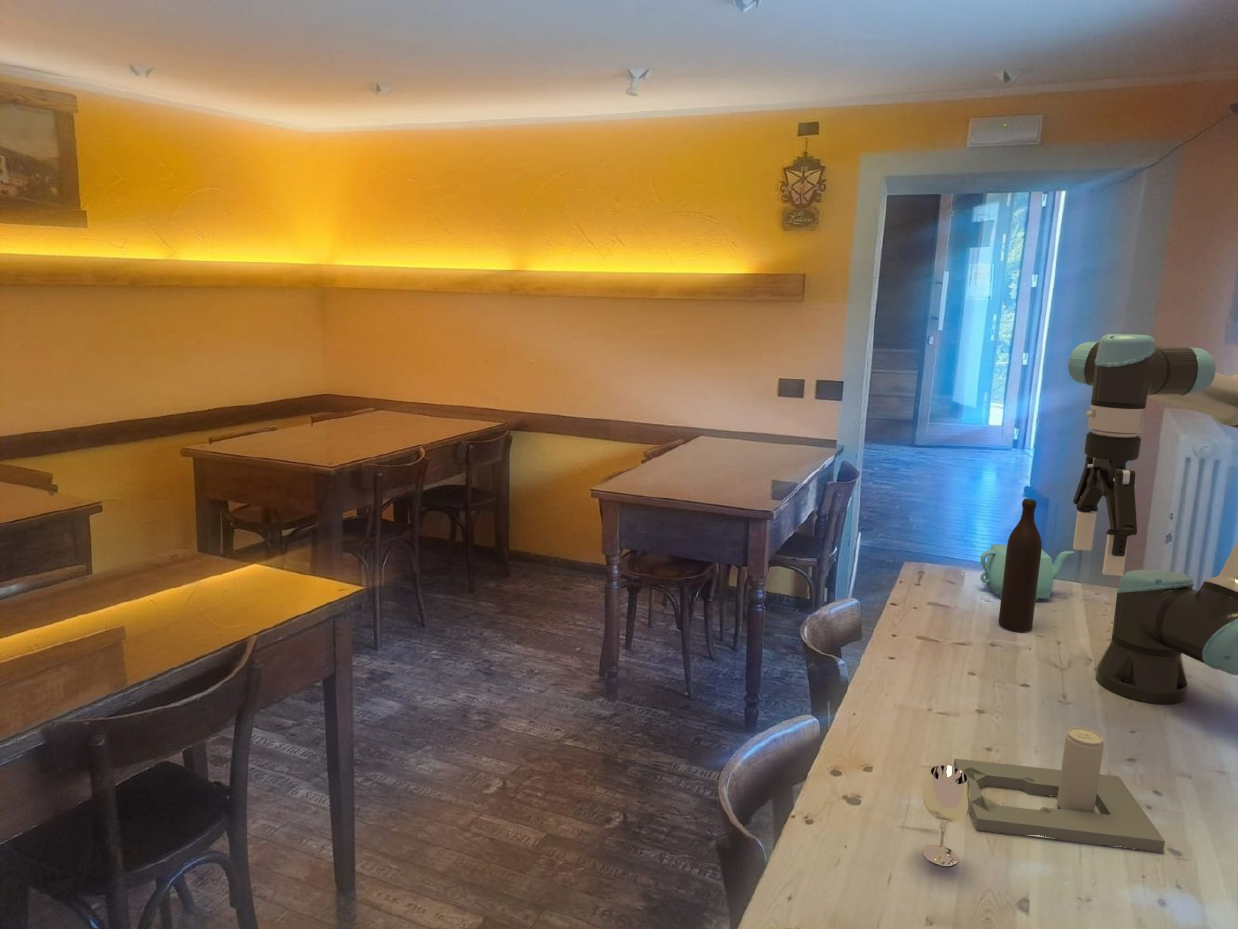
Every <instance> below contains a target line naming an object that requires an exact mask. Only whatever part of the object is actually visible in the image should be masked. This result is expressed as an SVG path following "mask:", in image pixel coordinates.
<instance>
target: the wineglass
mask: <svg viewBox="0 0 1238 929" xmlns="http://www.w3.org/2000/svg"><path fill="white" fill-rule="evenodd" d="M923 788H924V789H923V794H922V797H923V805H924V807H925V809H926V811H927V812H928V814H929V815H930V816H932V817H933V818H935V819H936V820H938V821H940V822H939V829H940V838H939V839H940V840H939V844H930V845H927V846H925V847H924V848H923V850H922V853H923V854H922V855H923V856H924V858H925V857H926V858H925V860H927V861H928V862H930V861H932V862H934V863H936V864H938V863H939V864H940V865H944V864H945V865H949V864H950V862H952V861H958V862H959V857H957V856H958V854H956V852H955V851H954V850H952V849H950V848H949V847H947V846H944V844H945V836H946V833H947V831H948V826H949V824H948V823H951V824H952V823H958V822H960V821H962V820H963V819H964V818H966V817H967V815H968V813H969V807H970V787H969V781H968V777H967V775H966V774H965V773H964V772H963V771H961V770H960V769H957V768H955V767H954V766H951V765H946V764H945V765H944V764H938V765H933V766H932V767H931V768H930V771H929V773H928V774H927V778H926V780H925V783H924V787H923ZM952 863H953V862H952ZM945 865H944V866H945Z"/></svg>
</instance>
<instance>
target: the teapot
mask: <svg viewBox="0 0 1238 929" xmlns="http://www.w3.org/2000/svg"><path fill="white" fill-rule="evenodd" d="M1006 551H1007V544H991V546H990V549H989V550H986V551H985V552H983V553H982V555H980V563H981V566H982V568H983V569H984V572H982V573H981V574H980V576H979V577H980V580H981V582H982V583H985V584H986V585H987V586H988V587H989V589H990V590H991V591H992V592H993V593H994V594H995V595H999V596H1001V595H1002V586H1003V577H1004V568H1005V560H1006ZM1075 552H1076V550H1075V551H1073V550H1065V551H1061V552H1060V553H1059V554H1058V555H1057V557H1056V559H1055V560H1054V563H1053V559H1052V557H1051V556H1050V555H1049V554H1048V553H1046V552H1045V550H1043V548H1042V549H1041V559H1040V567H1039V576H1038V584H1037V592H1036V600H1035V602H1039V601H1040V600H1039V599H1049V598H1050V597H1051V594H1052V592H1053V587H1054V586H1053V584H1054V583H1053V582H1054V580H1056V579H1057V577H1059V575H1060V574H1061V573H1060V572H1061V571H1062V567H1063V563H1065V560H1066V559H1067V558H1068V557H1069V556H1070V555H1073V554H1074V553H1075ZM986 558H987V559H986Z"/></svg>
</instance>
